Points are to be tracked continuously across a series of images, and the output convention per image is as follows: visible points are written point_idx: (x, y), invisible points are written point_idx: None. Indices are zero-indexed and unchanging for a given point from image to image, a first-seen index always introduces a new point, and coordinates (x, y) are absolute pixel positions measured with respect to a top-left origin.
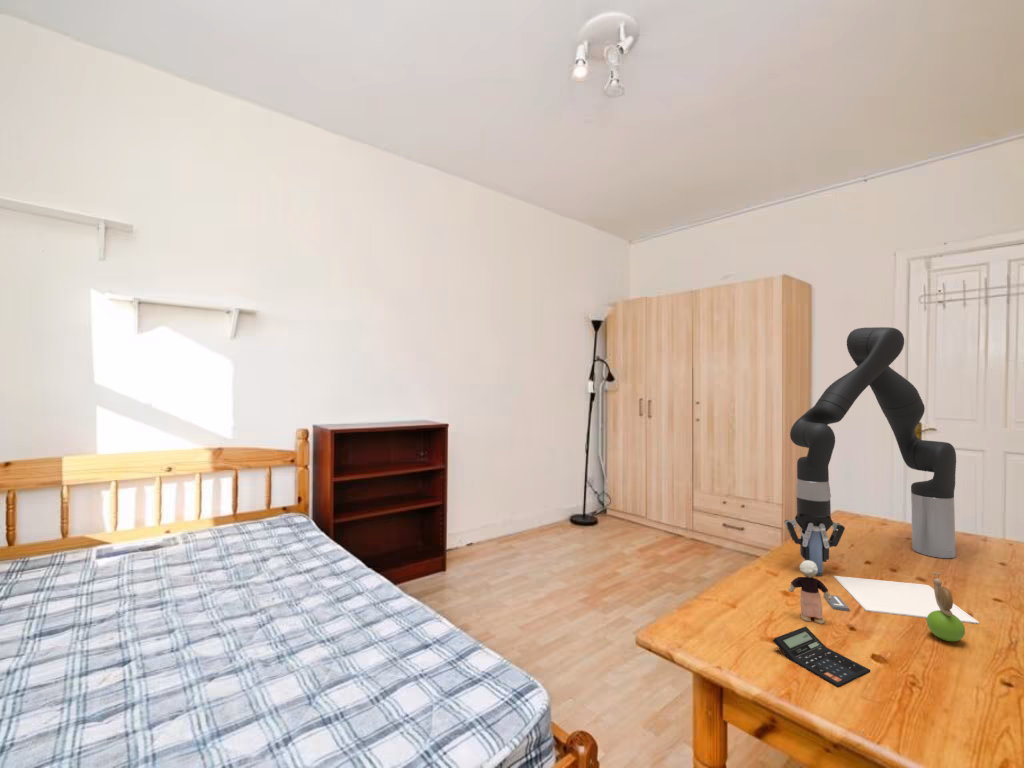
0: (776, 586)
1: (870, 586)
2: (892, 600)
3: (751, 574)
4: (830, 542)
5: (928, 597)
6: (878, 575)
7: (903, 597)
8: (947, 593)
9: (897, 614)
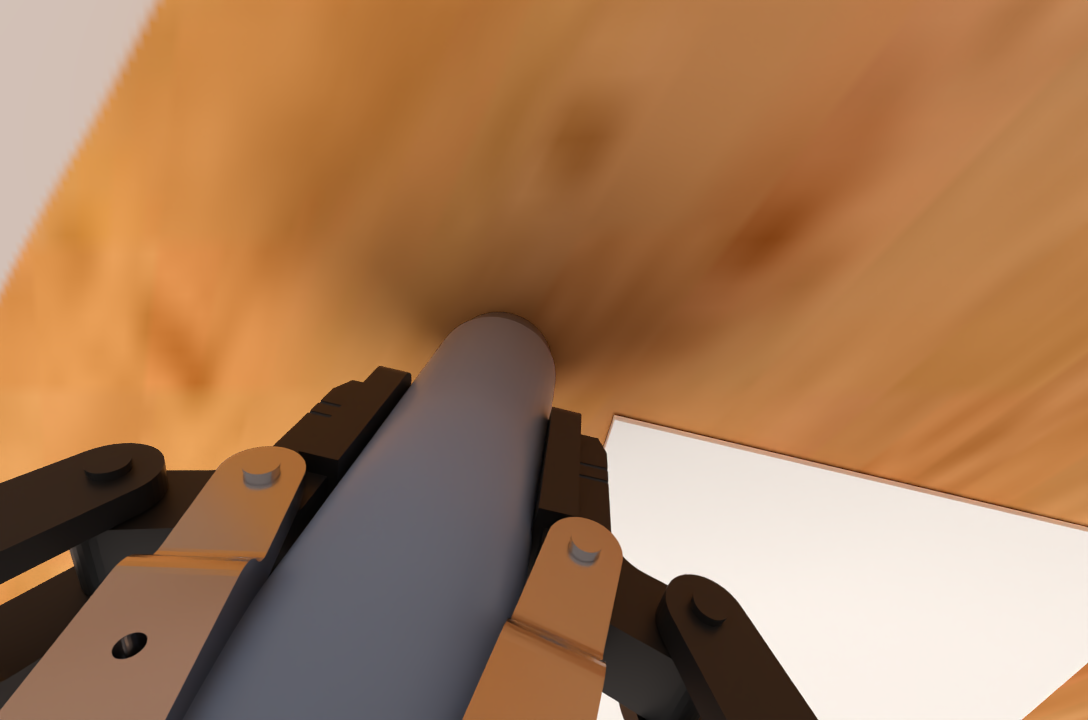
0: None
1: (743, 563)
2: None
3: (37, 370)
4: (616, 693)
5: (961, 674)
6: (1027, 388)
7: (809, 667)
8: None
9: None
